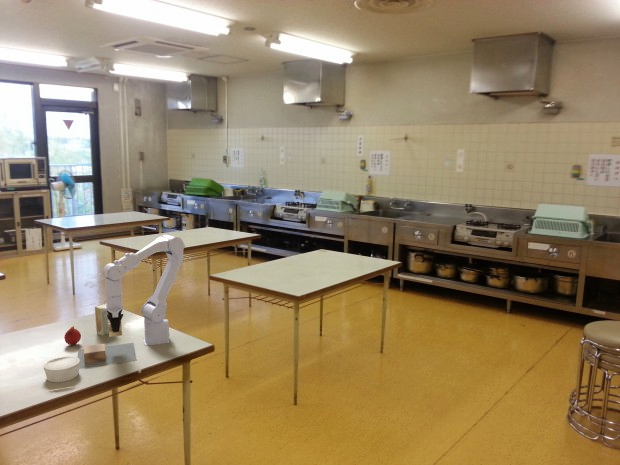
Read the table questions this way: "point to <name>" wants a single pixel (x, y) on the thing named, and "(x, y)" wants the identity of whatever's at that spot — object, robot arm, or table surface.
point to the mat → (111, 355)
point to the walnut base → (94, 353)
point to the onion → (72, 336)
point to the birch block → (114, 332)
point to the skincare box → (101, 320)
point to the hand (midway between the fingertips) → (115, 329)
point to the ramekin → (62, 369)
